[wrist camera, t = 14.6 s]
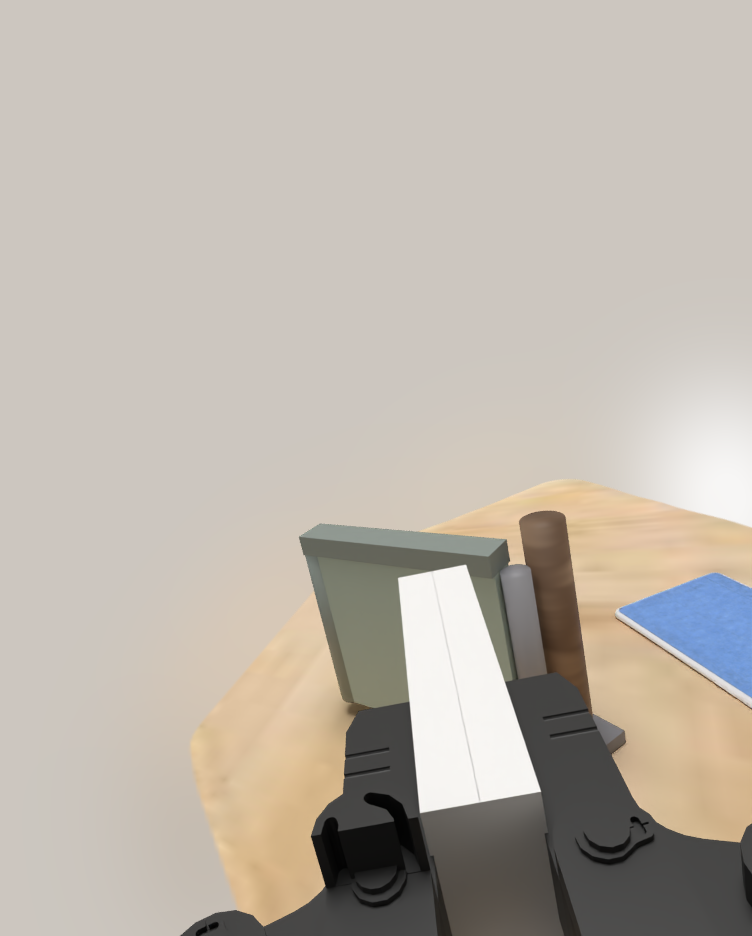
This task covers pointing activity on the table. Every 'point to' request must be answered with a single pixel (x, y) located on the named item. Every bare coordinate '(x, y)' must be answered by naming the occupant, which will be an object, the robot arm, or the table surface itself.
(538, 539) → the hinge post
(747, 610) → the tablet computer
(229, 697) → the table surface
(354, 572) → the panel
